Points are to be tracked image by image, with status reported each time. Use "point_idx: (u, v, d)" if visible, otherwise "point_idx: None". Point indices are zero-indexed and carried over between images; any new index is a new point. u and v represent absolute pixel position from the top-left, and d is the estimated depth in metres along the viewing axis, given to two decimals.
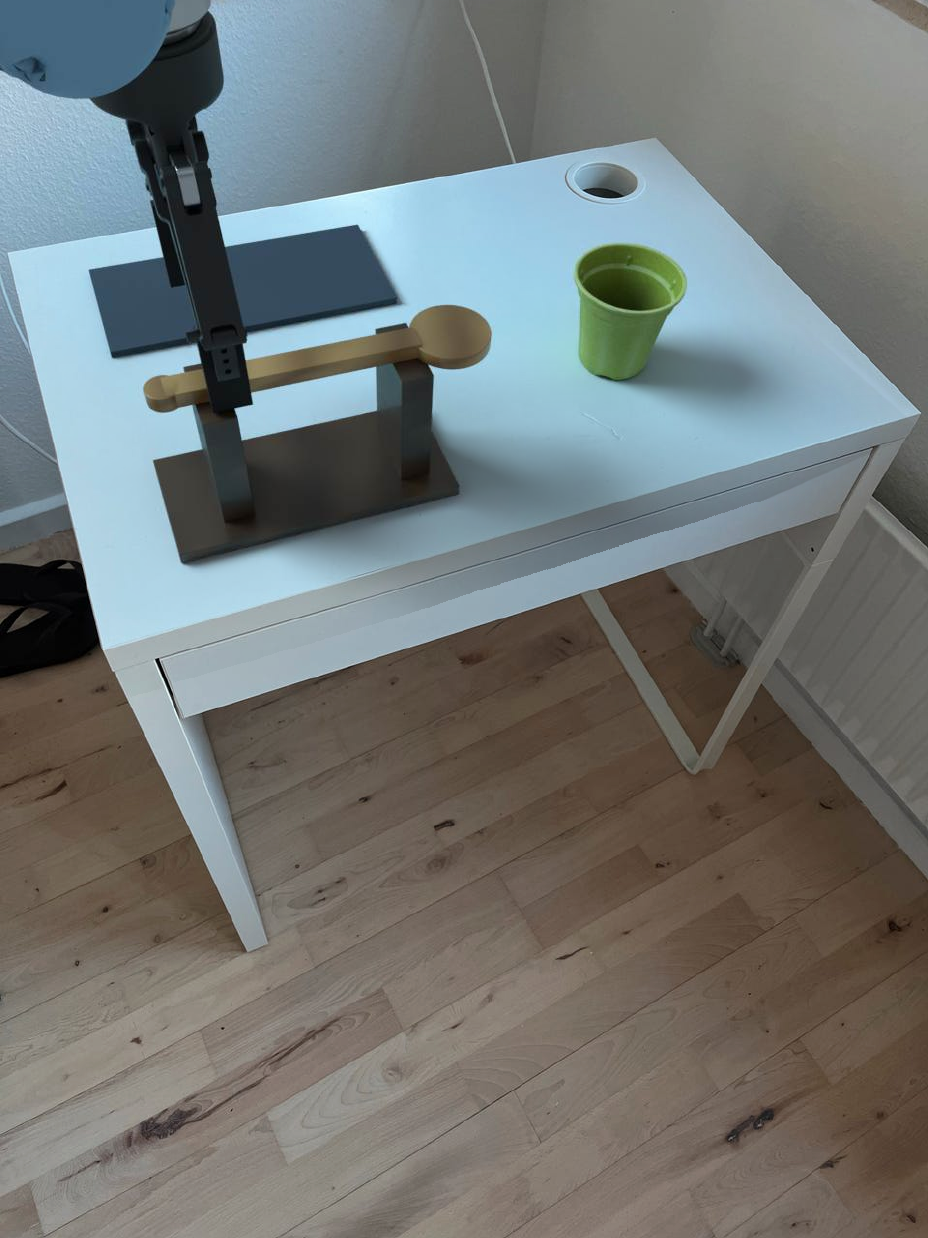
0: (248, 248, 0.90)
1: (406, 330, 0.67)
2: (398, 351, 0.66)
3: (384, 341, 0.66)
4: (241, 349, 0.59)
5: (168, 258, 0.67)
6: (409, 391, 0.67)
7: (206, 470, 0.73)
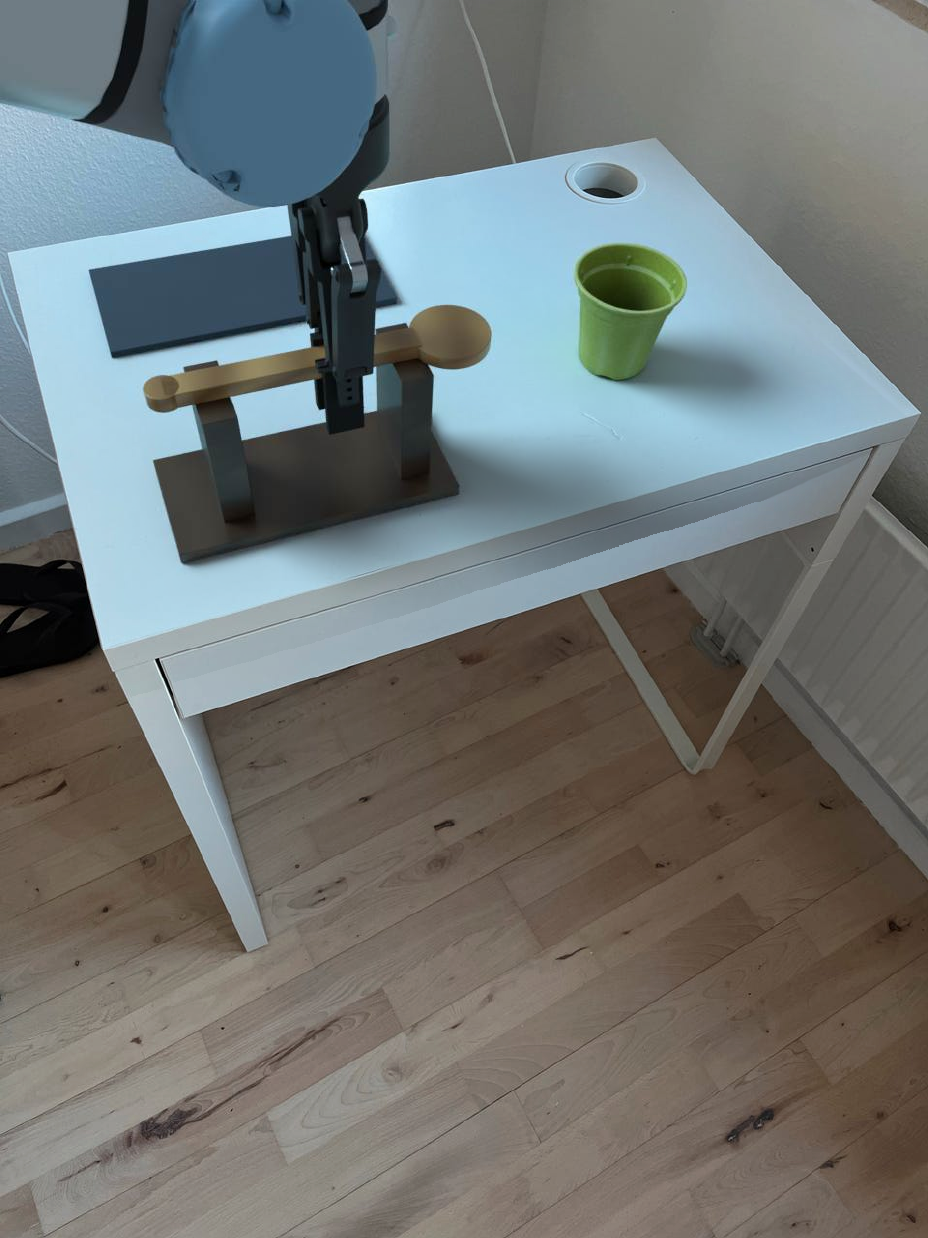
0: (248, 248, 0.90)
1: (406, 330, 0.67)
2: (398, 351, 0.66)
3: (384, 341, 0.66)
4: (361, 378, 0.66)
5: (320, 384, 0.68)
6: (409, 391, 0.67)
7: (206, 470, 0.73)
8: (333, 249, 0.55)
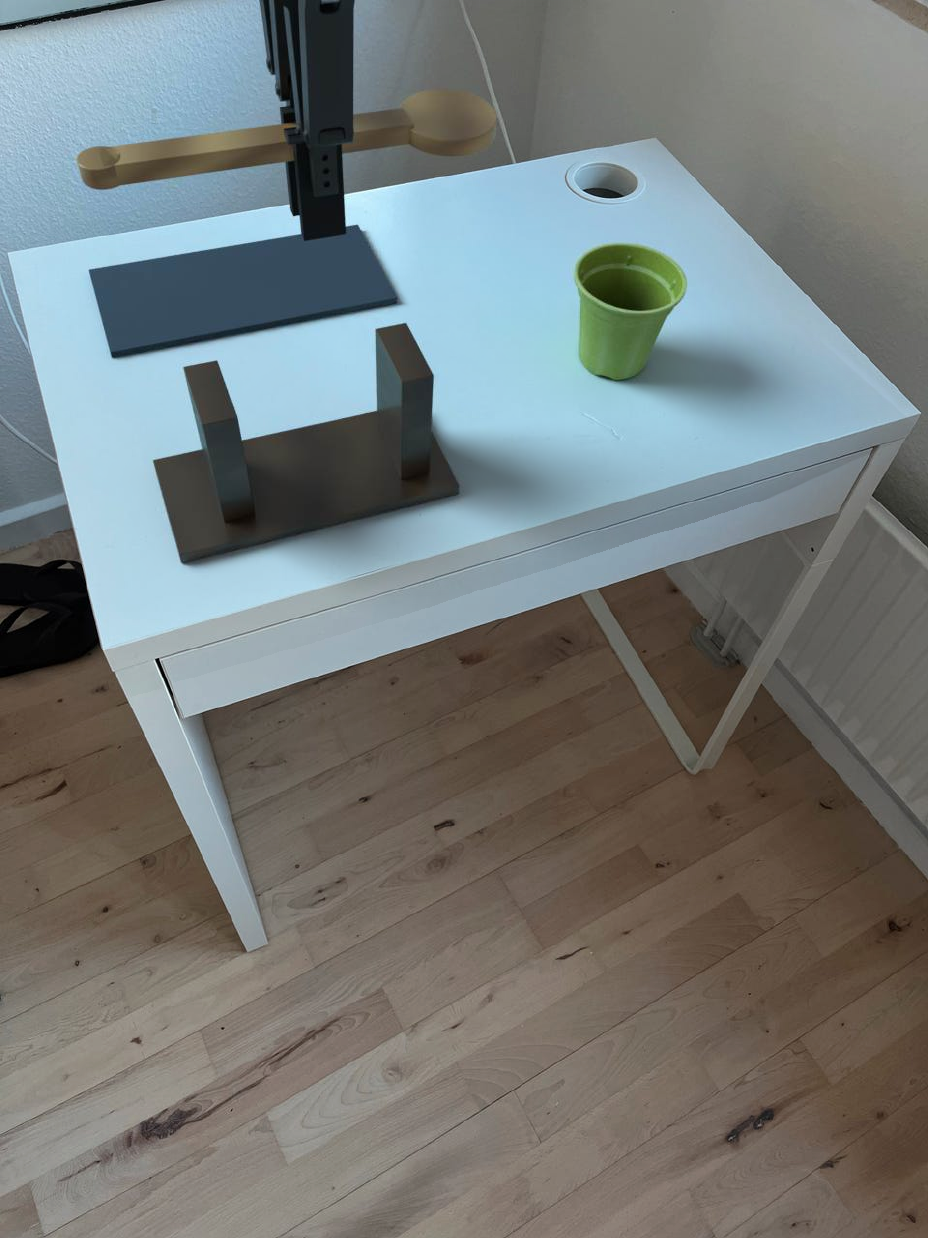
0: (248, 248, 0.90)
1: (395, 110, 0.56)
2: (385, 131, 0.55)
3: (368, 120, 0.55)
4: (340, 162, 0.55)
5: (294, 179, 0.58)
6: (409, 391, 0.67)
7: (206, 470, 0.73)
8: None
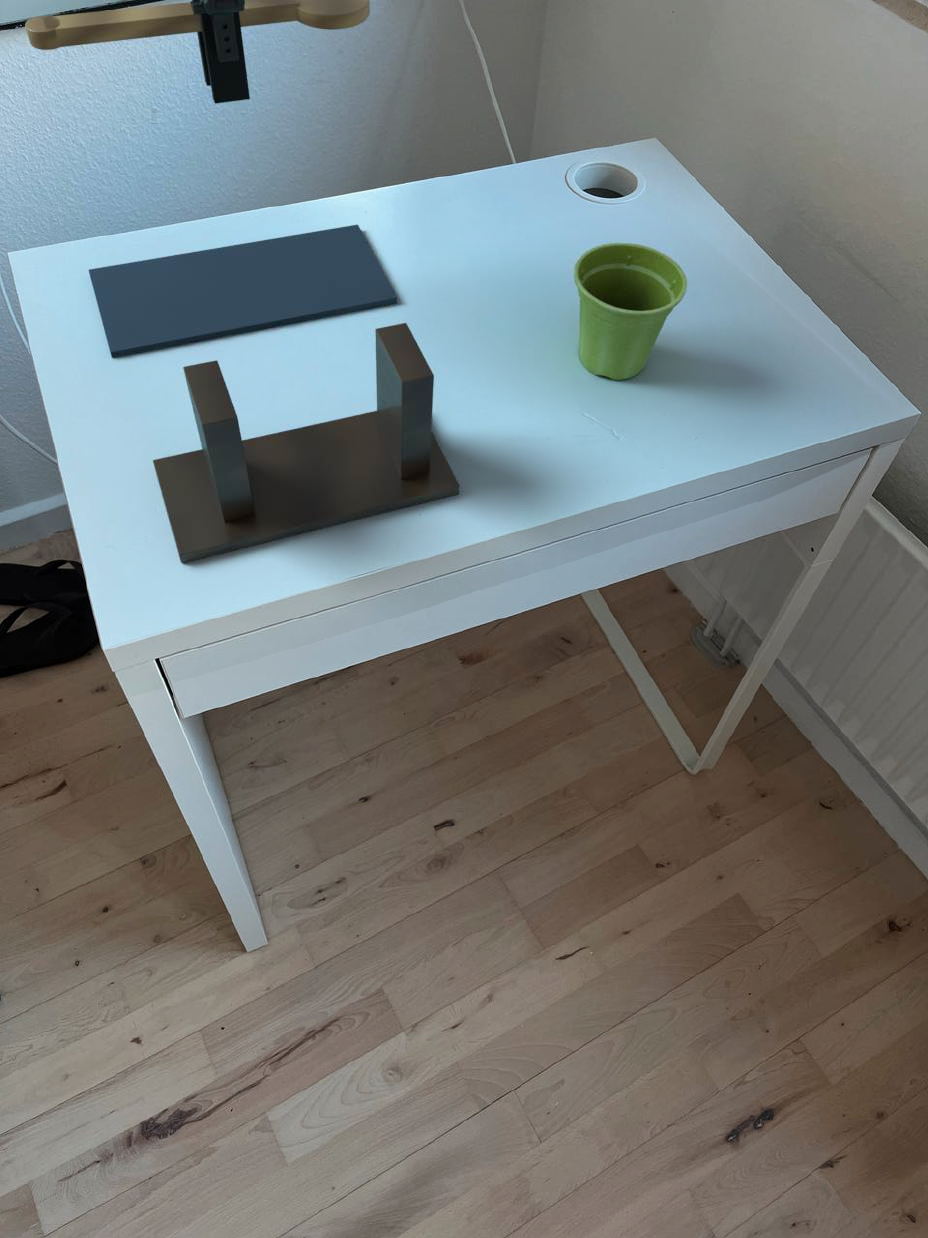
0: (248, 248, 0.90)
1: None
2: (276, 8, 0.69)
3: None
4: (239, 34, 0.68)
5: (205, 52, 0.71)
6: (409, 391, 0.67)
7: (206, 470, 0.73)
8: None
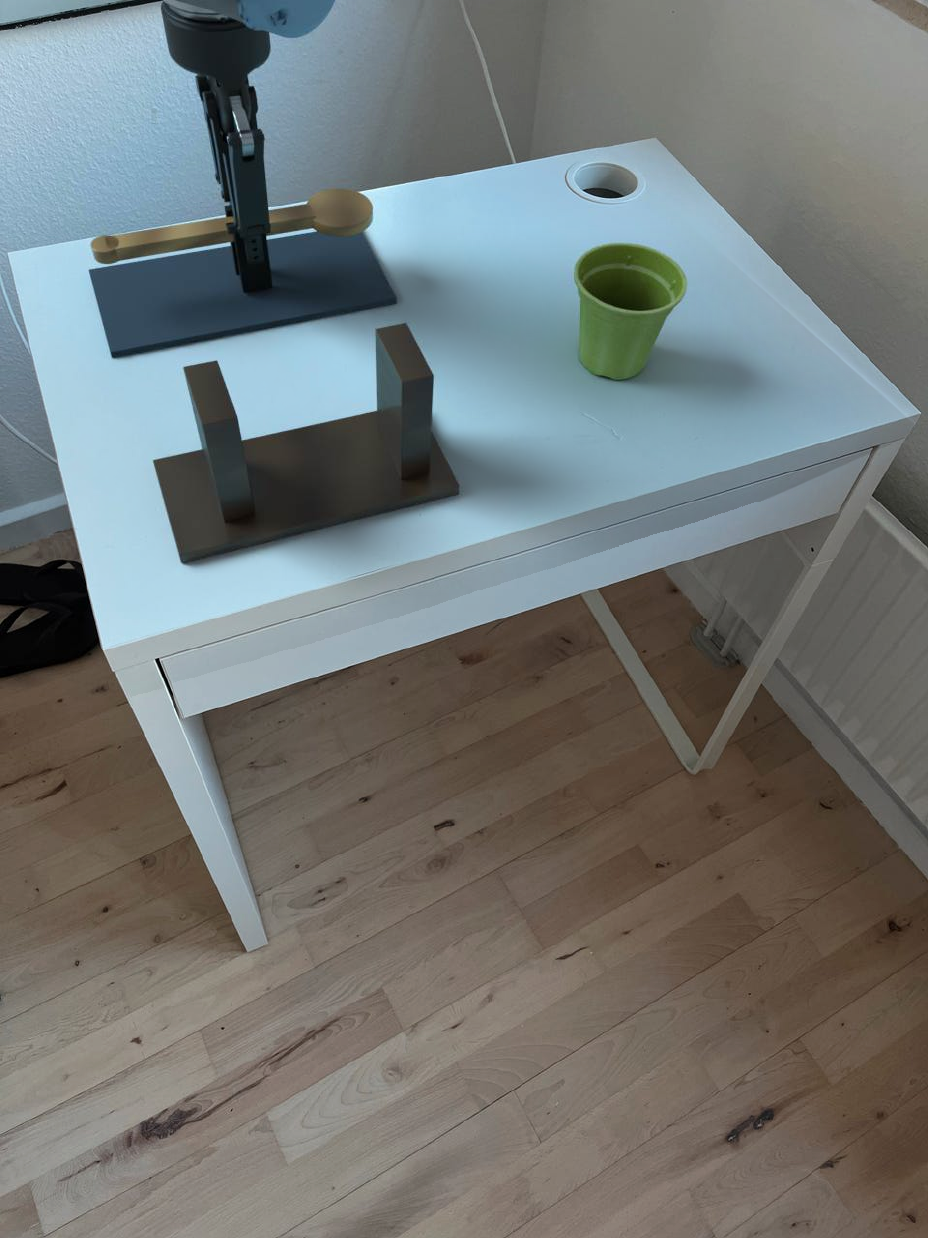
0: None
1: (303, 205, 0.84)
2: (296, 221, 0.83)
3: (284, 213, 0.83)
4: (265, 242, 0.83)
5: (236, 251, 0.85)
6: (409, 391, 0.67)
7: (206, 470, 0.73)
8: (229, 123, 0.72)
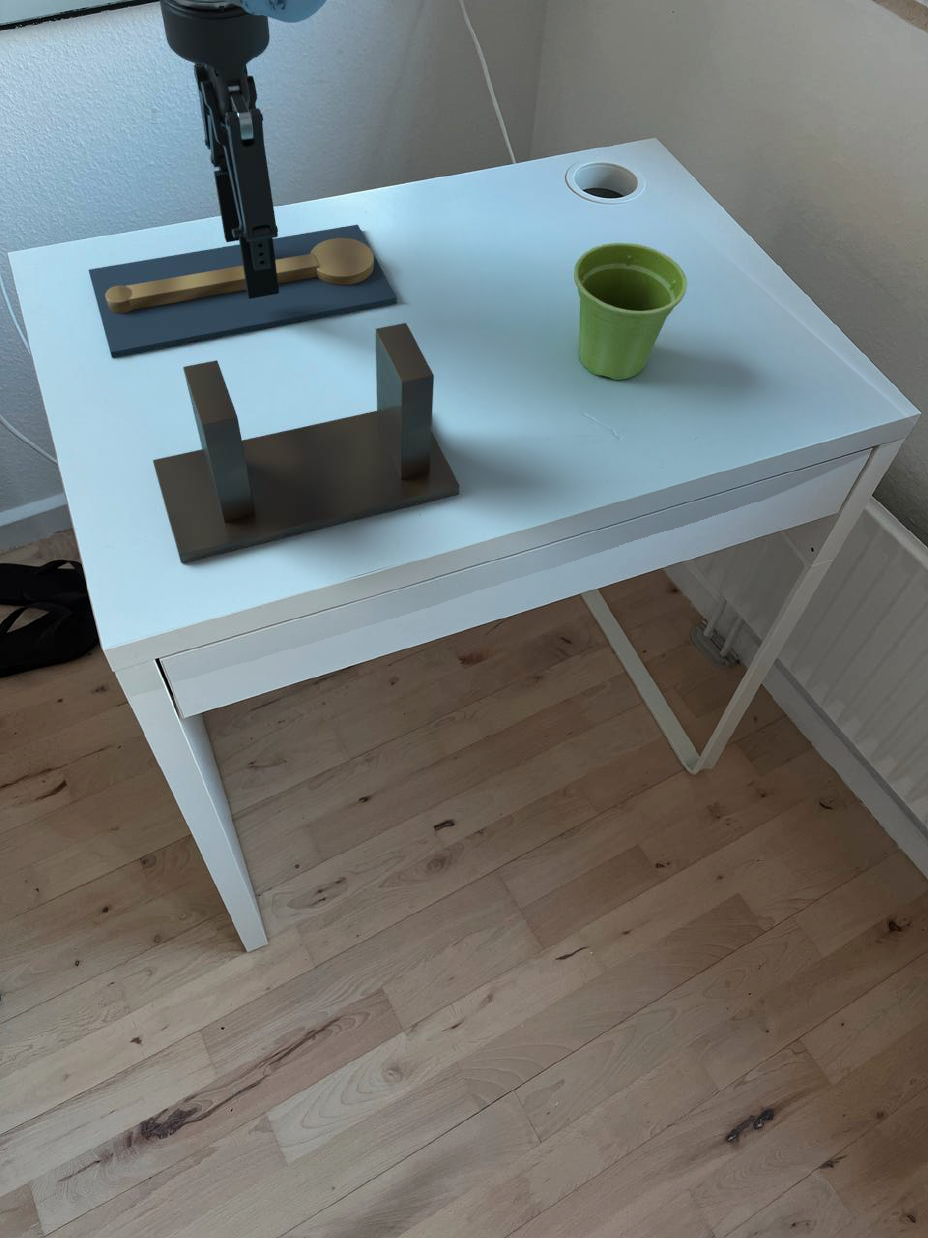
0: None
1: (307, 255, 0.88)
2: (300, 270, 0.87)
3: (289, 263, 0.87)
4: (272, 247, 0.80)
5: (225, 218, 0.85)
6: (409, 391, 0.67)
7: (206, 470, 0.73)
8: None
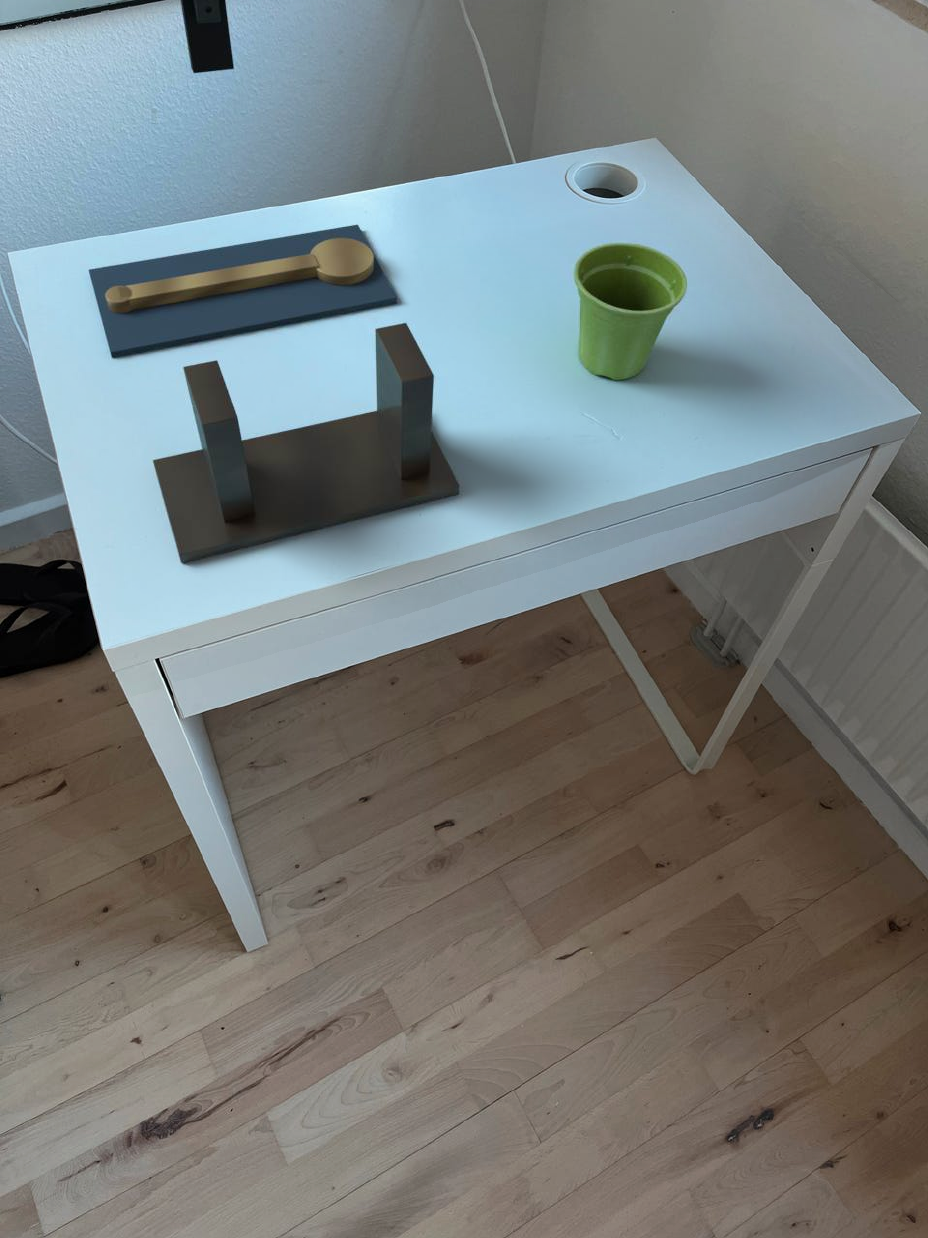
0: (248, 248, 0.90)
1: (307, 255, 0.88)
2: (300, 270, 0.87)
3: (289, 263, 0.87)
4: None
5: None
6: (409, 391, 0.67)
7: (206, 470, 0.73)
8: None
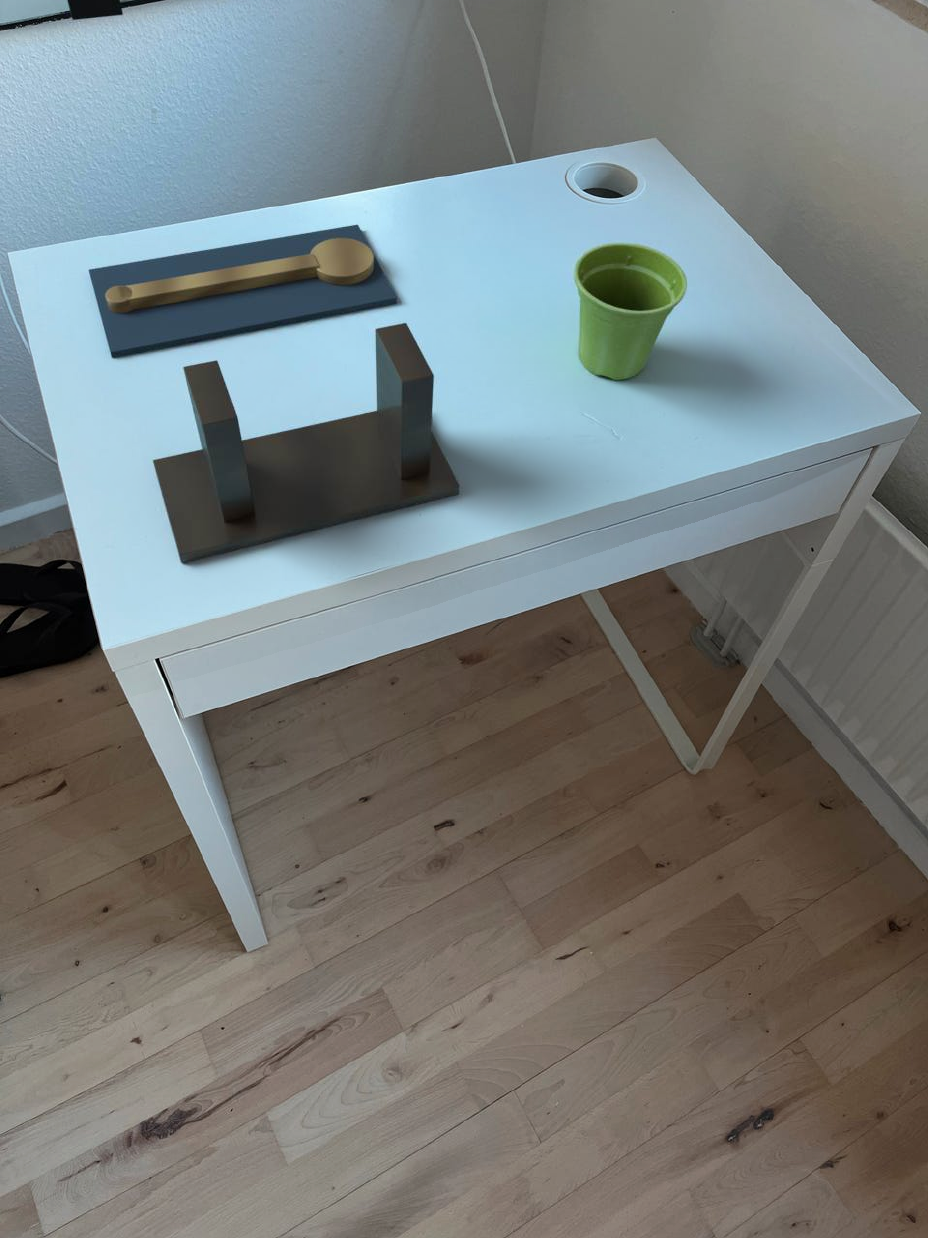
0: (248, 248, 0.90)
1: (307, 255, 0.88)
2: (300, 270, 0.87)
3: (289, 263, 0.87)
4: None
5: None
6: (409, 391, 0.67)
7: (206, 470, 0.73)
8: None
